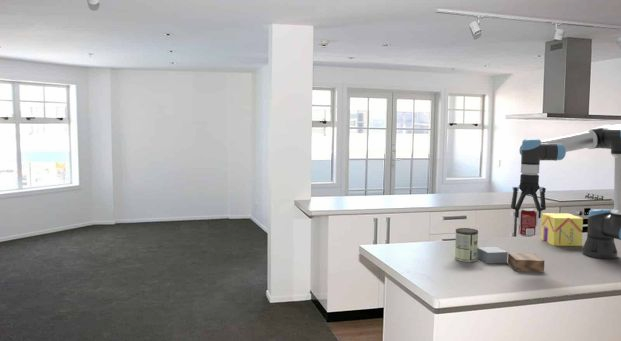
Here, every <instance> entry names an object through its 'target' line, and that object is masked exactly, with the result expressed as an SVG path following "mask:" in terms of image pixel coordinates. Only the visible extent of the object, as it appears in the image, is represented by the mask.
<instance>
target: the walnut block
mask: <svg viewBox="0 0 621 341" xmlns="http://www.w3.org/2000/svg"><path fill="white" fill-rule="evenodd" d="M507 265H509V266H510V268H512V269H513V270H514V272H535V273H544V272H545V260H544V259H543V258H541V257H540V256H539V255H538V254H536V253H525V252H524V253H522V252H521V253H518V252H508V257H507Z"/></svg>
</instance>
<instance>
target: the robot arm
mask: <svg viewBox="0 0 621 341" xmlns="http://www.w3.org/2000/svg"><path fill="white" fill-rule="evenodd" d="M582 149H588V150H595V149H607V150H610V155H612V157H614V176H613V178H614V183H613V184H614V188H613V189H614V191H613V192H614V194H613V195H614V196H613V199H614V200H613V208H611V209H610V208H608V209H607V208H605V209H604V208H599V209H597V208H596V209H595V208H594V209H590V210H588V215H587V233H586V234H587V235H586V236H587V237H586V240H585V242H584V244H583V245H582V246H583V247H582V253H581V254H582V255H585V256H587V257H591V258H596V259H597V258H598V259H608V260H609V259H617V258H618V250H617V245H616V243H615V239H616V240H619V241H621V124H606V125H601V126H597V127H593V128H589V129H586V130H584V131H583V132H580V133H574V134H569V135H566V136H558V137H555V138H549V139H543V140H541V139H538V138H536V139H535V138H532V139H531V138H529V139H528V138H526V139H523V140H522V143H521V144H520V147H519V154H520V156H521V159H520V163H521V164H520V175H519V176H520V181H519V185H518V186H513V187H512V191H513V192H512V196H511V197H512V198H511V205H510V208H511V209H513V210H514V217H515V218H516V225H517V226H519V225H520V223H521V207H522V205H523V202H524V200H525V198H526V196H529V195H530V196H531V197H532V199H533V201H534V205H535V208H536V210H534V211H535V213H536V227H538V226H539V219H541V218H542V213H541V212H542V211H545V210H546V208H547V207H546V194H545V193H546V188H545V187H544V186H540V184H539V182H540V175H539V174H540V164H541V161H556V162H557V161H562V160H564V159H565V157H566V155H567V154H566V153H567V152H573V151H579V150H582ZM519 190H520V192H521V193H520V195H519V199H518V201H517V198H518V192H519ZM538 191H539V197H540V199H539V198H538V194H537V192H538ZM539 200H540V202H539Z"/></svg>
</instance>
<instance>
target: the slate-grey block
mask: <svg viewBox="0 0 621 341" xmlns="http://www.w3.org/2000/svg"><path fill="white" fill-rule="evenodd" d="M508 253H509V252H508V251H507V250H505V249H503V248H500V247H497V246H488V247H487V246H485V247H483V246H482V247H480V246H479V247H478V246H477V259H479V260H480V261H483V262H484V263H485V264H501V263H502V264H506V263H507V264H508Z"/></svg>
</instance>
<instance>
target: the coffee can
mask: <svg viewBox="0 0 621 341" xmlns="http://www.w3.org/2000/svg"><path fill="white" fill-rule="evenodd" d="M478 233H479V230H478V229H476V228H469V227H459V228H455V247H454V248H455V249H454V251H455V252H454V259H455V260H456V261H460V262H464V263H466V262H467V263H468V262H469V263H473V262H474V263H475V262H477V261H478V258H477V247H478V241H479V240H478V239H479V234H478Z"/></svg>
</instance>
